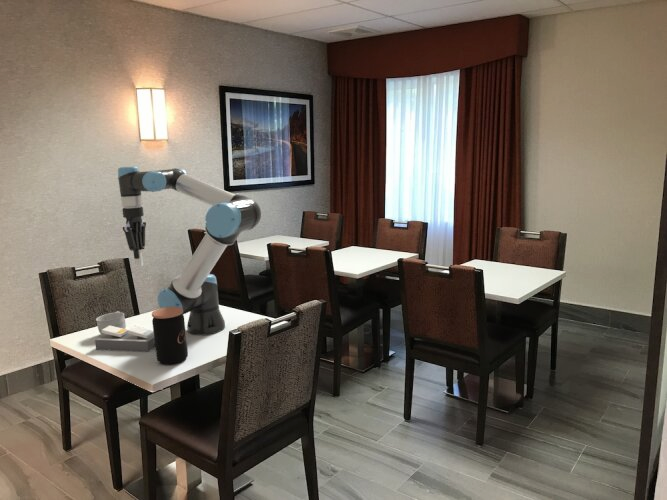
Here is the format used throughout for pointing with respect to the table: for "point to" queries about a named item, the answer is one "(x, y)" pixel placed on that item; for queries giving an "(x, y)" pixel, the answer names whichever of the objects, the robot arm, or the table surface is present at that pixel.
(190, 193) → the robot arm
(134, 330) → the white flat packet
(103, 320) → the teacup
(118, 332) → the rocker amber
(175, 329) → the coffee jar
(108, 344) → the power strip
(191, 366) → the table surface
